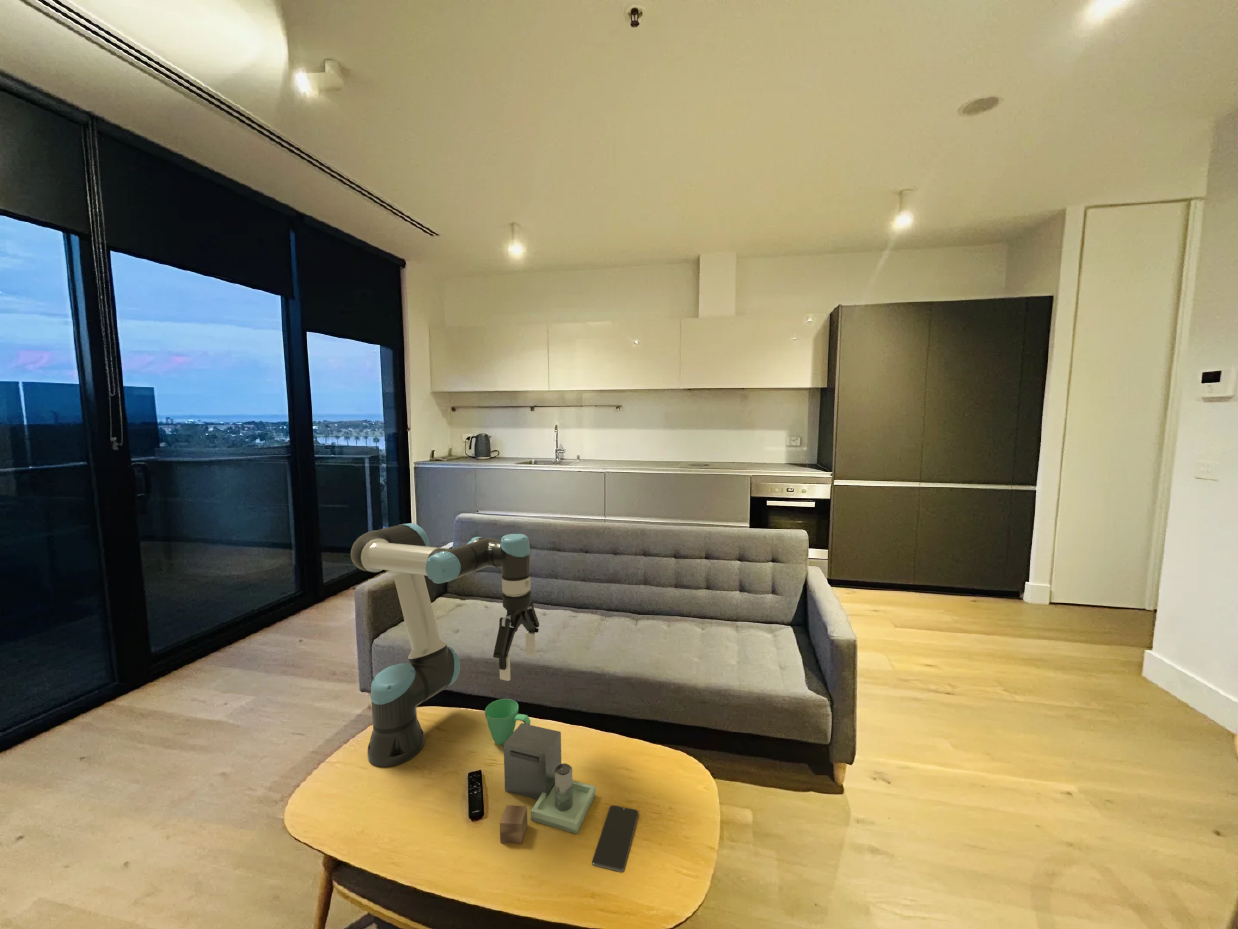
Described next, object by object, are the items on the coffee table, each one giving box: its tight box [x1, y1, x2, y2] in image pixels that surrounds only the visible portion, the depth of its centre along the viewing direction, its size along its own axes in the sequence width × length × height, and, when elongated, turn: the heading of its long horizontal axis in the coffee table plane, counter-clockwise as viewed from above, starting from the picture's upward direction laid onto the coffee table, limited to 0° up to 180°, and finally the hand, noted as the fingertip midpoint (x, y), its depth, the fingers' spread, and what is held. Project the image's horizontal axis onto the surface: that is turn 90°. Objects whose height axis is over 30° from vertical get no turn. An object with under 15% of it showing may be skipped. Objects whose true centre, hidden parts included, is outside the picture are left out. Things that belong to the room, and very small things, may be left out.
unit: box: [503, 722, 562, 801], centre depth 126 cm, size 12×10×13 cm
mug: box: [484, 698, 531, 746], centre depth 142 cm, size 15×10×10 cm
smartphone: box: [591, 804, 639, 873], centre depth 110 cm, size 7×1×16 cm
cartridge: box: [555, 762, 574, 811], centre depth 118 cm, size 4×4×10 cm
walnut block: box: [499, 804, 528, 845], centre depth 111 cm, size 5×5×5 cm
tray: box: [530, 780, 597, 835], centre depth 118 cm, size 12×12×2 cm
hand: (518, 666), depth 131 cm, fingers open, 13 cm apart
